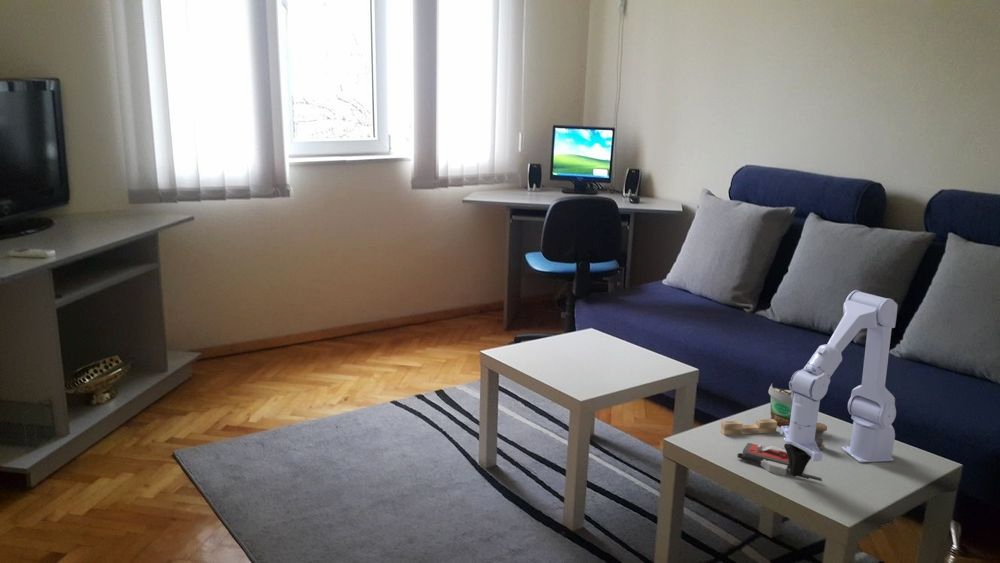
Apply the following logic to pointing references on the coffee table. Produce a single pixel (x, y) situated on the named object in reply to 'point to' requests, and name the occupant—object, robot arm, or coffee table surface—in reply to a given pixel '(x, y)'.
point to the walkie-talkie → (770, 459)
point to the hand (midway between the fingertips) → (796, 474)
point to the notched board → (748, 427)
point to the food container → (781, 405)
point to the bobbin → (820, 435)
